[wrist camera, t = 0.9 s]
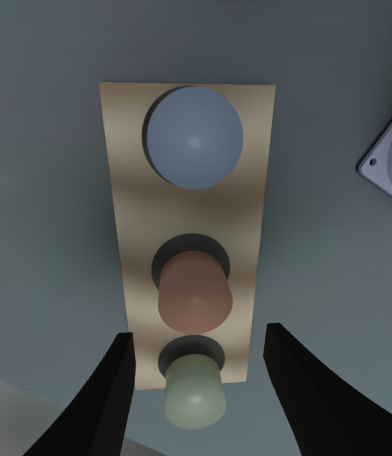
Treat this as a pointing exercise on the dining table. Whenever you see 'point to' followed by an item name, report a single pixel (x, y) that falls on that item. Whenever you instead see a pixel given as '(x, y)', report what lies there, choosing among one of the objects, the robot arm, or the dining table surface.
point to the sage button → (194, 392)
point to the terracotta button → (194, 293)
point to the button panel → (185, 225)
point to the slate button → (195, 137)
